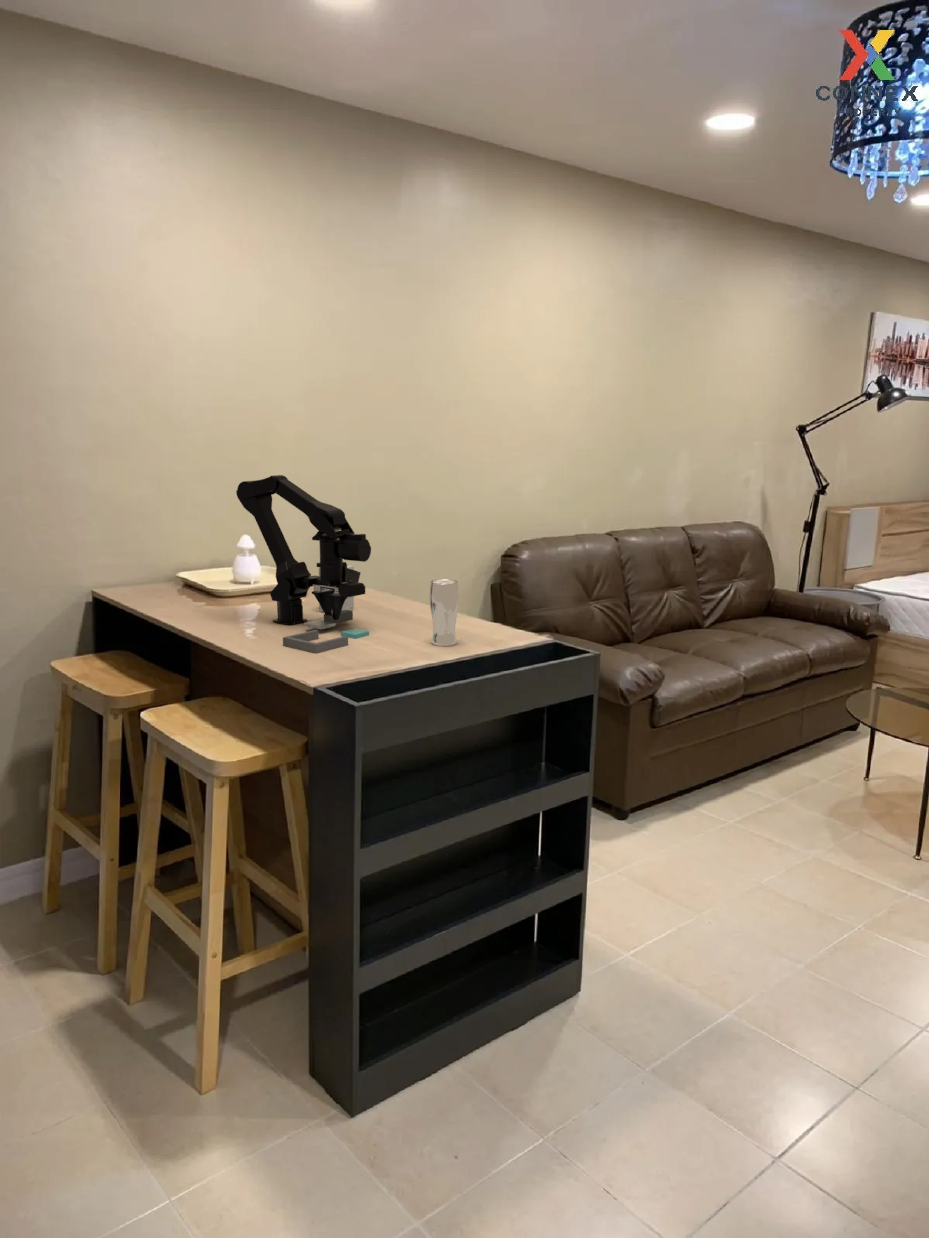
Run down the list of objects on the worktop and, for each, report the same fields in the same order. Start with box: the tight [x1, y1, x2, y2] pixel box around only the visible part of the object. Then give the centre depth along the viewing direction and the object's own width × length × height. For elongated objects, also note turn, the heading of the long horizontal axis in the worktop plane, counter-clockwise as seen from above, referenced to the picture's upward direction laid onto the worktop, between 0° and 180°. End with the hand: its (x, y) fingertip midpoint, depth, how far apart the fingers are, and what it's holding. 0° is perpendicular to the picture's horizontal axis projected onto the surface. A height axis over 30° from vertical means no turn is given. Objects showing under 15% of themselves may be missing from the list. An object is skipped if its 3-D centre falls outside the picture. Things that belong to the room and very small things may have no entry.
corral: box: [282, 629, 349, 654], centre depth 212 cm, size 11×10×2 cm
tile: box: [340, 627, 370, 640], centre depth 223 cm, size 5×5×2 cm
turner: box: [303, 610, 354, 630], centre depth 230 cm, size 13×6×2 cm, turn 142°
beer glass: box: [429, 578, 460, 647], centre depth 214 cm, size 7×7×15 cm
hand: (332, 619), depth 230 cm, fingers closed on turner, 2 cm apart
